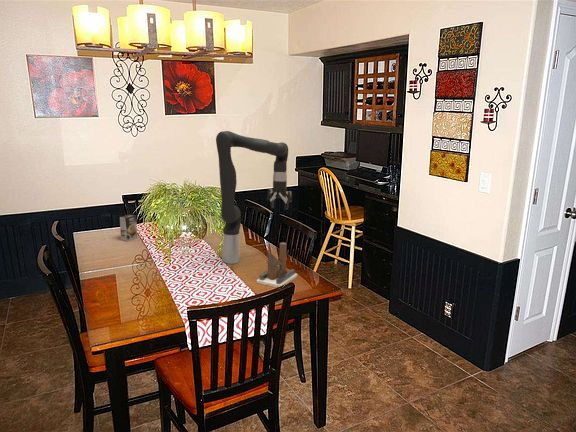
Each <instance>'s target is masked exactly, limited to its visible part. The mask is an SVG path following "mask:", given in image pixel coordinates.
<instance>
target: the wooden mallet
mask: <svg viewBox="0 0 576 432" xmlns="http://www.w3.org/2000/svg"><path fill="white" fill-rule="evenodd" d="M278 258H279V259H278ZM278 258H277V257H276V256H275V255H274V254H273V253H271V252H267V270H268V278H269V279H271V280H273V279H276V278H277V277H278V278H279V277H280V276H282V275H283V274H285V273H286V272H288V269H287V243H286V242H283V241H282V242H279V257H278ZM277 266H279V269H277Z"/></svg>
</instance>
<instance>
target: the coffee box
mask: <svg viewBox="0 0 576 432" xmlns="http://www.w3.org/2000/svg"><path fill="white" fill-rule="evenodd" d="M137 221H138V220H137V215H135V214H126V215H123V216H119V226H120V240H121V241H124V242H129V241H133V240H136V239H138V225H137V224H138V223H137Z"/></svg>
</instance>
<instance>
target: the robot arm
mask: <svg viewBox="0 0 576 432" xmlns="http://www.w3.org/2000/svg"><path fill="white" fill-rule="evenodd" d="M215 137H216V138H215V144H216V149H217V155H218V156H217V157H218V169H219V170H218V171H219V183H220V195H221V196H220V197H221V205H220V206H221V208H220V214H221V216H220V217H221V218H222V221H224V227H223V230H222V232H223V237H222V238H223V245H222V246H221V260H222V262H224V264H230V265H231V264H232V265H233V264H234V265H235V264H237V263H239V262H240V229H241V220H242V212H241V210H240V208H239V206H238V205H235V193H236V189H237V181H238V179H237V170H236V168H235V164H234V161H233V158H232V148H243V149H247V150H249V151H253V152H257V153H262V154H268V155H270V156H274V157H275V160H274V162H273V174H272V188H269V189H267V198H266V199H267V201H270V202H269V203H270V204H269V205H270V208H271V209H275V200H276V199H282V201H283V202H284V210H285V211H287V210H288V209H289V203H291V202H293V194H292V193H293V192H292V191H291V190H290V191H287V187H288V186H287V183H288V181H287V180H288V179H287V178H288V175H287V165H288V163H287V161H288V158H289V147H288V144H287V143H286V142H273V141H270V140H268V139H262V138H255V137H249V136H244V135H241V134H238V133H235V132H232V131H230V130H225V131H220V132H218V133H217V135H216V136H215Z"/></svg>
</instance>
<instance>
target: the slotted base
mask: <svg viewBox="0 0 576 432" xmlns="http://www.w3.org/2000/svg"><path fill="white" fill-rule="evenodd" d="M277 269H279V265H277ZM296 278H298V273H296V270H295V269H293V268H292V269H289V270H287V272H286V273H285V274H283V275H282V276H280V277H279V278H278V277H277V278H276V279H273V280H271V279H269V278H268V269H267V270H266V271H264V272H262V273H261V274H259V278H258V279H256V283H257V284H260V285H265V286H269V287H272V288H273V287H274V288H277V287H280V286H282V285H284V284H286V285H288V284H289V283H291V282H292V281H293V280H295V279H296ZM284 286H285V285H284Z"/></svg>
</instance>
